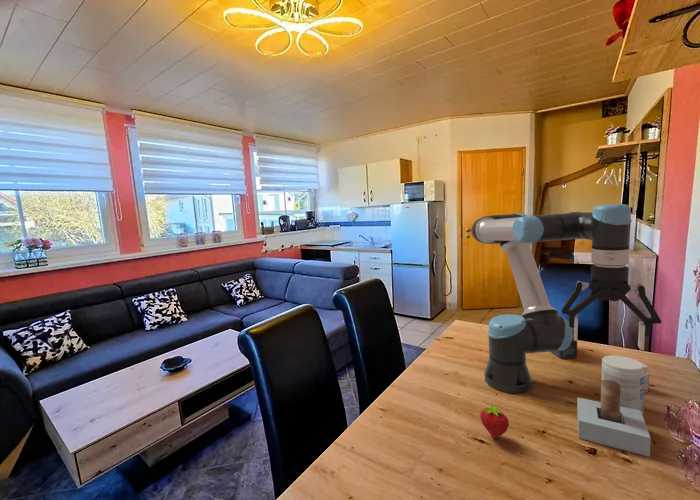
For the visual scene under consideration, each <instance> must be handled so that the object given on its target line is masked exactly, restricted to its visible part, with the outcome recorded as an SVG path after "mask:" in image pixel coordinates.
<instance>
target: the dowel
mask: <svg viewBox="0 0 700 500" xmlns="http://www.w3.org/2000/svg"><path fill="white" fill-rule="evenodd" d="M620 388H621V386H620V384H619V383H617V382H615V381H611V380H602V379H601V381H600V402H601V411H600V419H603V420H608V421H612V422H616V423H620Z"/></svg>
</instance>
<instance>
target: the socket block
mask: <svg viewBox="0 0 700 500" xmlns="http://www.w3.org/2000/svg"><path fill="white" fill-rule="evenodd" d="M576 399H577V400H576V402H577V403H576V405H577V407H576V414H577V418H576V419H577V432H578V433H577V434H578V439H581V440H585V441H588V442H592V443H597V444H600V445H603V446H607V447H611V448H615V449H618V450H622V451H626V452H630V453H633V454H637V455H641V456H645V457H649V458H651V436H650V432H649V431H648V430H649V429H648V427H647V425H646V421H645V419H644V416H643V414H642V413H641V411H640V410H636V409H631V408H626V407H621V406H620V423H616V422H612V421H608V420H603V419H600V411H601V401H597V400H591V399H588V398H583V397H577V398H576Z"/></svg>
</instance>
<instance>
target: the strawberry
mask: <svg viewBox="0 0 700 500" xmlns="http://www.w3.org/2000/svg"><path fill="white" fill-rule="evenodd" d="M485 406H486V408H483V409H481V411H480V415H479V417H480V421H481V423H482V425H483V427H484V428H485V429H486V431H487V432H488V433H489V434H490V435H491V437H492V438H494V439H498V438H499V437H502V436H503V435H504V434H505V433H506V432H507V431H508V429H509V424H510V423H509V422H510V421H509V418H508V417H507V415H505V414H504V413H503V412H502V411H503V409H499V408H498V405H496V406H493V405H492V403H491V406H490V405H487V404H485Z"/></svg>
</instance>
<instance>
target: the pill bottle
mask: <svg viewBox="0 0 700 500" xmlns="http://www.w3.org/2000/svg"><path fill="white" fill-rule="evenodd" d="M640 363H641V364H642V365H643V369H644V394H645V393H648V392H649V384H650V372H649V367H648V365H647V364H646V363H643V362H640Z"/></svg>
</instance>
